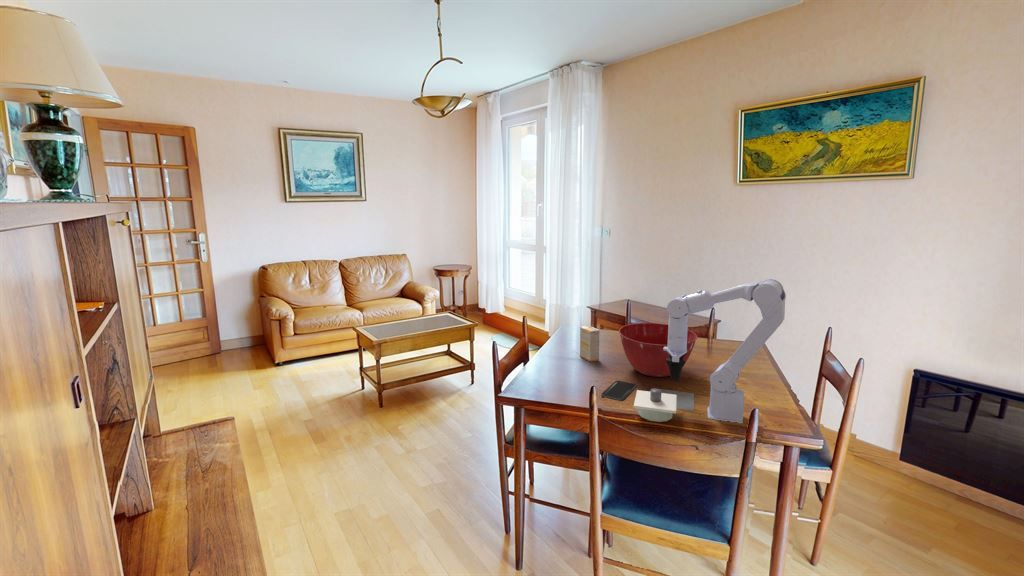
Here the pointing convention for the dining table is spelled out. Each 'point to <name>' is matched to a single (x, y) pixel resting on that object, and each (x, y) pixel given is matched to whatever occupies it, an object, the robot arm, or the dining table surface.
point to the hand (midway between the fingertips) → (675, 376)
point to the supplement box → (589, 343)
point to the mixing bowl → (650, 347)
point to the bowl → (655, 415)
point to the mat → (682, 399)
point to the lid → (655, 401)
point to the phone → (619, 390)
